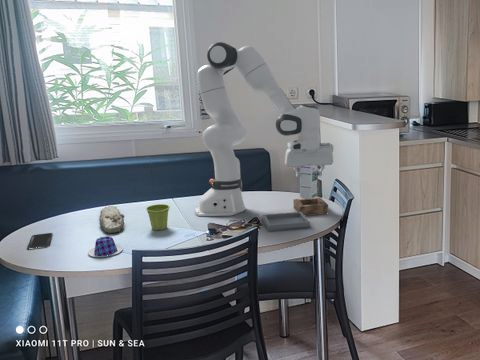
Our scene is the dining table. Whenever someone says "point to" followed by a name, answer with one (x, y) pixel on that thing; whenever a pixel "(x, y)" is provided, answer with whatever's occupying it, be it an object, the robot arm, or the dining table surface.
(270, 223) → the tray
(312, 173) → the syrup box
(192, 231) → the dining table surface
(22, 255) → the dining table surface
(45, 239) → the phone
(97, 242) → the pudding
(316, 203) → the socket block
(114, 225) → the beige slipper
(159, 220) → the plant pot
